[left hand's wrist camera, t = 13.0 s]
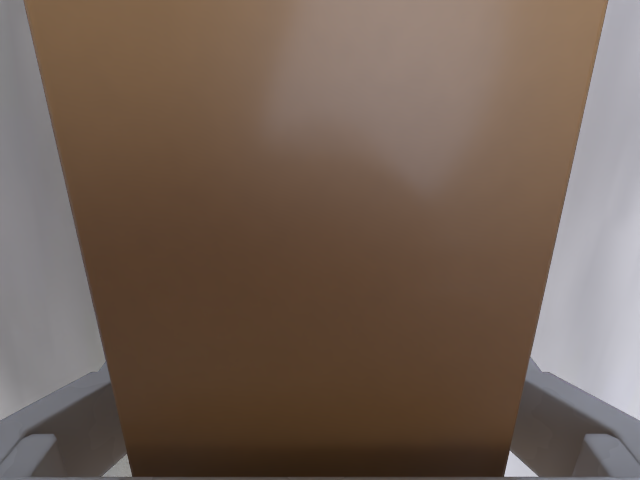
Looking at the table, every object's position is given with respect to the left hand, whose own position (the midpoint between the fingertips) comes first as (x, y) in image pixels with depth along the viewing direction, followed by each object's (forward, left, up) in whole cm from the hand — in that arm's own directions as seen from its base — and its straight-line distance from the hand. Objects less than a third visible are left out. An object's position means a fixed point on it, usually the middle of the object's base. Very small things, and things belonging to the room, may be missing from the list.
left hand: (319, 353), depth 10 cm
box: (+1, +10, -9) cm, 13 cm away
